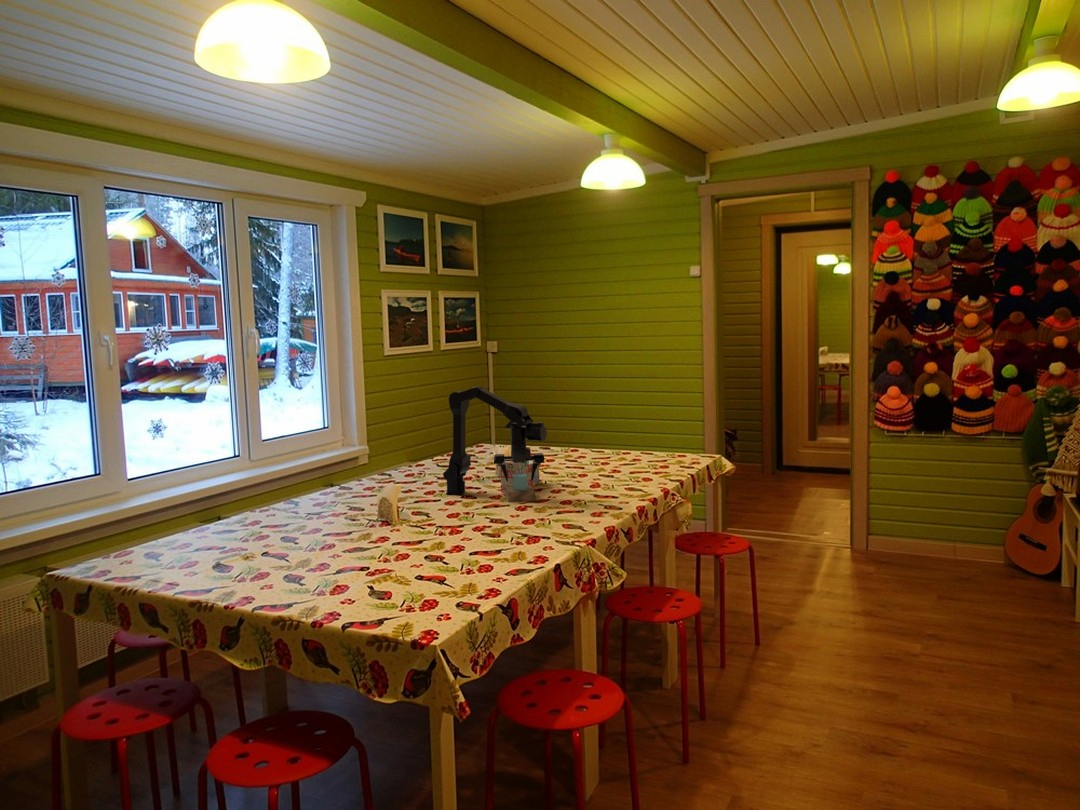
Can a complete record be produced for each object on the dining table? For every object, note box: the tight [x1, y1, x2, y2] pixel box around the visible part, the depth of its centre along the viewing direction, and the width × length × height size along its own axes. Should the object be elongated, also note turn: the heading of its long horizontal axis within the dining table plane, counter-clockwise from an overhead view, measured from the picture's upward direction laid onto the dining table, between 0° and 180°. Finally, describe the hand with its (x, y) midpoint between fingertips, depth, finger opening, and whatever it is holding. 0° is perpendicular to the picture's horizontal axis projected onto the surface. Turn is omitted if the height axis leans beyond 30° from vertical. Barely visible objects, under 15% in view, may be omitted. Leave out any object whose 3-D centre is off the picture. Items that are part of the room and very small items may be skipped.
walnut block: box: [504, 486, 536, 503], centre depth 303 cm, size 10×10×4 cm
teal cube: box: [513, 474, 527, 491], centre depth 303 cm, size 5×5×5 cm
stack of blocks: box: [500, 461, 540, 494], centre depth 322 cm, size 21×6×12 cm, turn 154°
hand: (519, 481), depth 303 cm, fingers open, 9 cm apart
